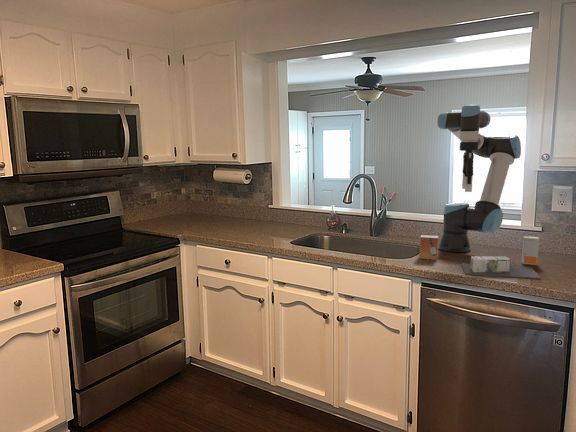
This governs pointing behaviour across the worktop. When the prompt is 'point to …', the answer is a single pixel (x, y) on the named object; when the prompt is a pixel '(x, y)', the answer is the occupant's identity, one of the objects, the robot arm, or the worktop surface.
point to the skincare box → (530, 250)
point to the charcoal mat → (514, 273)
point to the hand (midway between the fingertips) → (466, 190)
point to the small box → (428, 247)
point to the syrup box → (490, 264)
